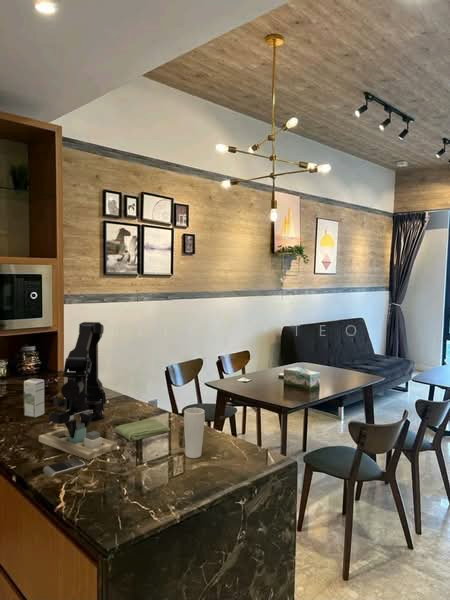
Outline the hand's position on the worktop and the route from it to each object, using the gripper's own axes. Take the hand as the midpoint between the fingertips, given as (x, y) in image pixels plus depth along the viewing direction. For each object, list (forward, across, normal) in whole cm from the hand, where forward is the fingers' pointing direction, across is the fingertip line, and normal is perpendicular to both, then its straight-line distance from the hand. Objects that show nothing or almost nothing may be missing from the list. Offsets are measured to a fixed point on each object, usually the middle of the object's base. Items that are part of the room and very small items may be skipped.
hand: (77, 436), depth 154 cm
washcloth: (+4, -23, +8) cm, 25 cm away
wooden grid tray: (+3, 0, 0) cm, 3 cm away
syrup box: (+3, -10, -40) cm, 41 cm away
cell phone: (+4, +14, +12) cm, 19 cm away
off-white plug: (+3, 0, +8) cm, 9 cm away
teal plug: (+2, 0, 0) cm, 2 cm away
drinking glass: (+3, -17, +37) cm, 41 cm away
